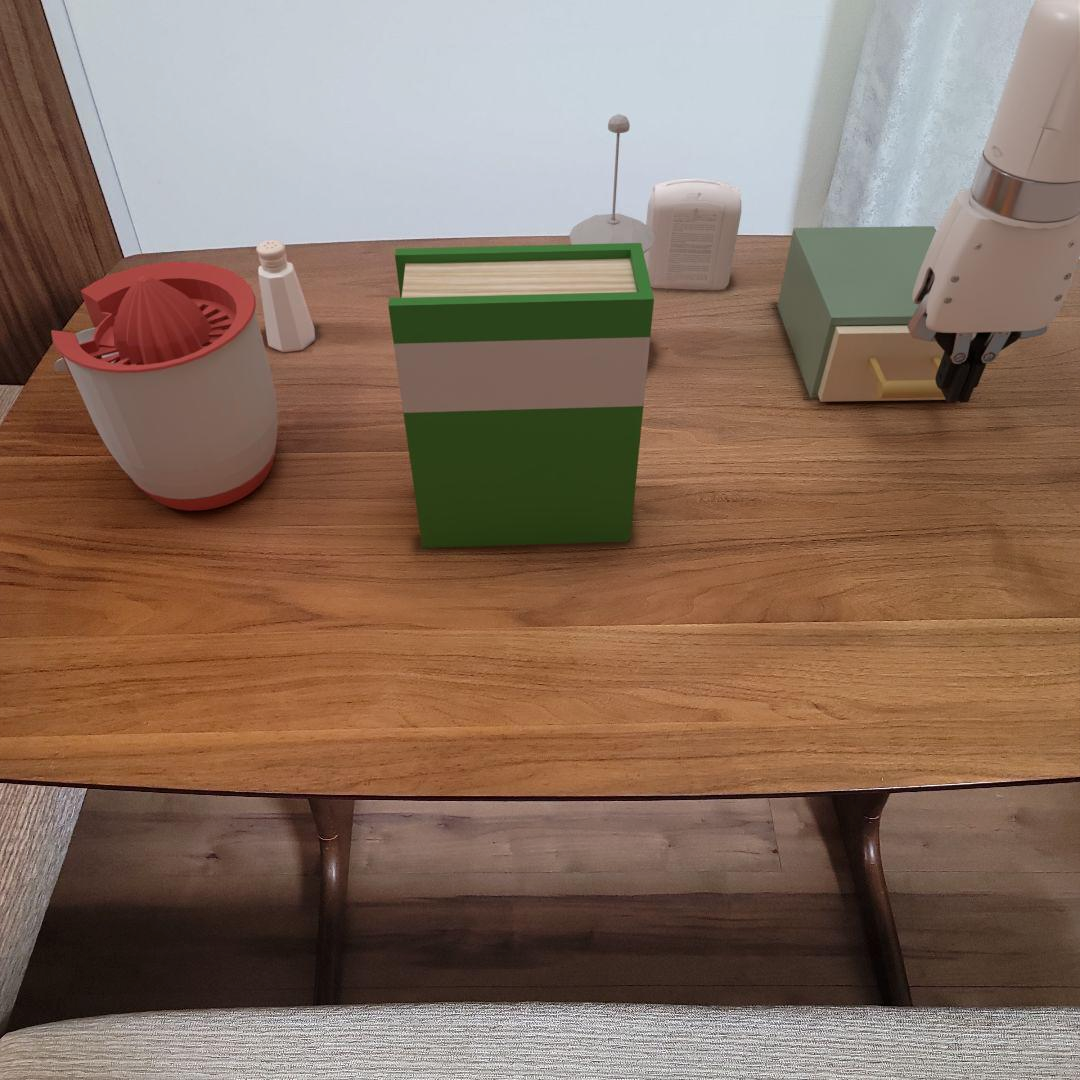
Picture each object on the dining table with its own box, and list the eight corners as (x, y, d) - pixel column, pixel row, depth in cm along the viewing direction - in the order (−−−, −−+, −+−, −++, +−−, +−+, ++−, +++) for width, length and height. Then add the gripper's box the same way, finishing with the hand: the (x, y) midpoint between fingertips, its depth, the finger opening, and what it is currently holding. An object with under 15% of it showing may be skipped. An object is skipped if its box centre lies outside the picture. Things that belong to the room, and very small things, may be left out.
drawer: (976, 435, 87) (1007, 366, 82) (833, 437, 87) (853, 368, 82) (910, 311, 102) (932, 245, 96) (787, 313, 102) (802, 247, 96)
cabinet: (956, 399, 93) (990, 315, 86) (809, 401, 93) (831, 317, 85) (907, 307, 104) (933, 225, 97) (776, 308, 104) (793, 227, 97)
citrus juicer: (139, 413, 92) (63, 224, 77) (312, 419, 91) (269, 229, 76) (75, 526, 81) (-27, 330, 66) (271, 533, 80) (212, 338, 66)
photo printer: (727, 275, 109) (744, 172, 100) (730, 295, 106) (747, 191, 97) (640, 272, 110) (648, 170, 101) (640, 292, 107) (649, 188, 98)
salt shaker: (325, 342, 100) (306, 248, 92) (278, 359, 98) (254, 265, 90) (304, 319, 103) (284, 226, 95) (258, 334, 101) (233, 241, 93)
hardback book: (422, 551, 79) (388, 305, 61) (426, 491, 84) (395, 248, 66) (629, 545, 79) (654, 299, 62) (620, 485, 84) (641, 242, 67)
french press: (630, 323, 102) (649, 87, 84) (673, 383, 95) (704, 139, 76) (546, 339, 100) (547, 101, 82) (583, 403, 93) (593, 155, 74)
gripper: (1114, 158, 68) (1023, 364, 81) (909, 163, 68) (852, 368, 81) (1162, 207, 63) (1057, 419, 76) (940, 213, 63) (875, 423, 76)
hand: (952, 392), depth 79 cm, fingers closed
